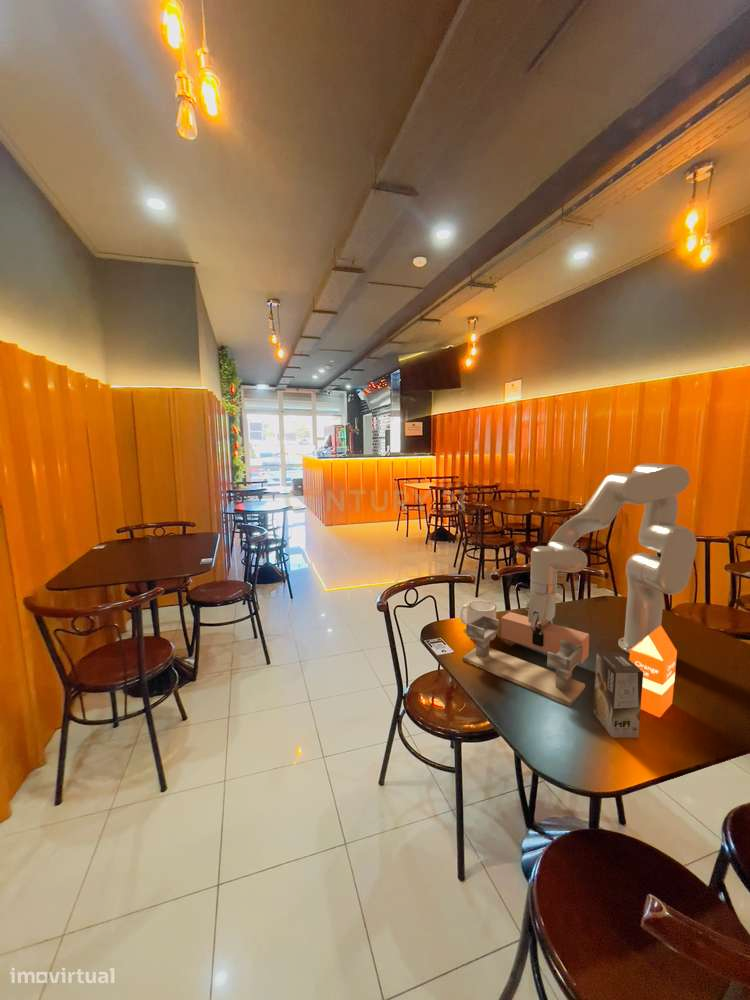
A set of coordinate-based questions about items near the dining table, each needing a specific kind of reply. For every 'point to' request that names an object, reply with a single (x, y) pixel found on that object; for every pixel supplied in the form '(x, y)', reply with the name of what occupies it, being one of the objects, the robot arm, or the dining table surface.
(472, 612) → the mug
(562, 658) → the cradle stand
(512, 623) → the rail
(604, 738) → the dining table surface
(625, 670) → the coffee box
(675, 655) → the orange juice
